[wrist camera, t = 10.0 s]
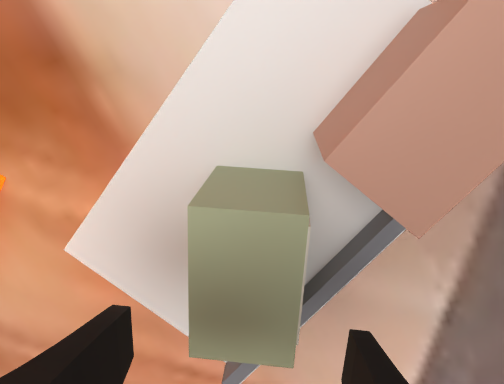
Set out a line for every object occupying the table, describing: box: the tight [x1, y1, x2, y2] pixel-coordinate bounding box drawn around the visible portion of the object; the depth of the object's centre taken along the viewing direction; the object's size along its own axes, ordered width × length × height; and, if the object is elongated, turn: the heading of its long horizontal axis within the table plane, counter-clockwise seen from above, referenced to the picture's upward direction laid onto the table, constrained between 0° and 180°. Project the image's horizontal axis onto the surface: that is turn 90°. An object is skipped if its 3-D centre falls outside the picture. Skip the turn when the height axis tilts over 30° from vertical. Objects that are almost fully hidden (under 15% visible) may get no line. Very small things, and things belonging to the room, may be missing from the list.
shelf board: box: [64, 0, 432, 384], centre depth 19 cm, size 13×22×2 cm, turn 142°
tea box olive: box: [187, 166, 311, 368], centre depth 17 cm, size 5×7×6 cm
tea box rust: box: [313, 0, 504, 239], centre depth 15 cm, size 5×7×6 cm
